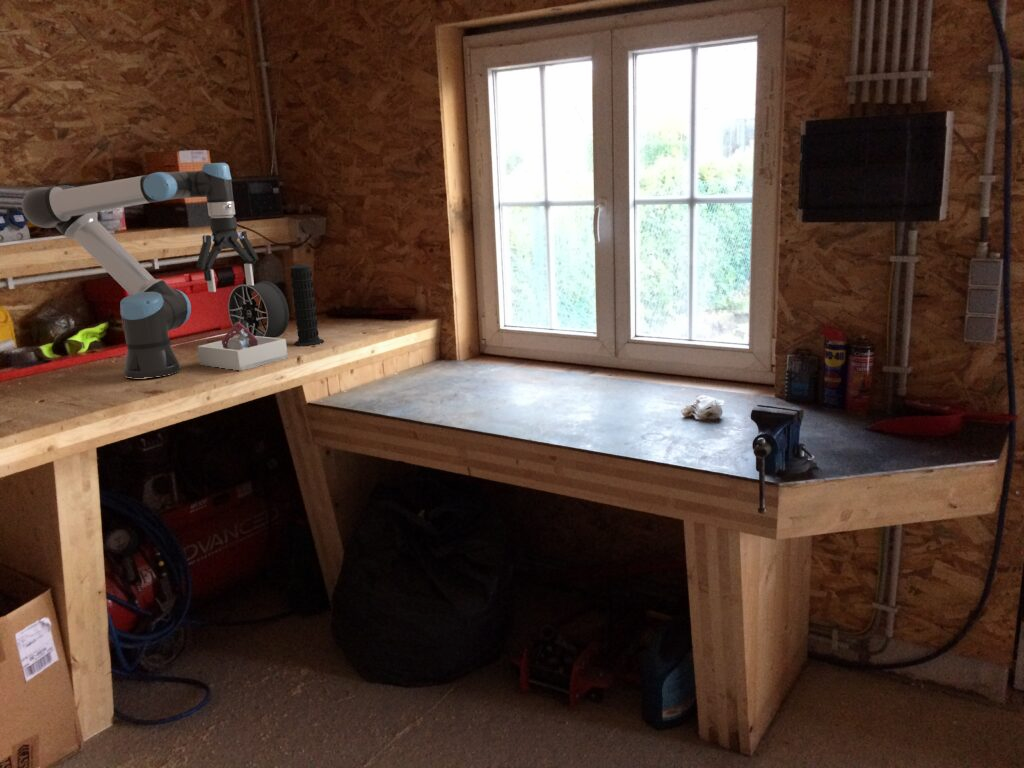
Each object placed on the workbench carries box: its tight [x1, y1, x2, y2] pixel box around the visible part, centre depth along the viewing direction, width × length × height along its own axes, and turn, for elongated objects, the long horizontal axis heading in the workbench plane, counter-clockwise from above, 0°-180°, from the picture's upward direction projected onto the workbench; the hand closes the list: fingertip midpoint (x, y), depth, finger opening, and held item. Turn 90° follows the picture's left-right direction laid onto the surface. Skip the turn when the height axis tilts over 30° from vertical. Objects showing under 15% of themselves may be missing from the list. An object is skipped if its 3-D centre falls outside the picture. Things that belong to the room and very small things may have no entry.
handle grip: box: [289, 263, 325, 347], centre depth 283 cm, size 10×26×10 cm
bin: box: [197, 336, 289, 372], centre depth 262 cm, size 18×19×6 cm
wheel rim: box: [227, 280, 290, 338], centre depth 293 cm, size 20×9×20 cm, turn 56°
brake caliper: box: [221, 322, 258, 350], centre depth 260 cm, size 11×11×12 cm
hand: (231, 288), depth 258 cm, fingers open, 13 cm apart
